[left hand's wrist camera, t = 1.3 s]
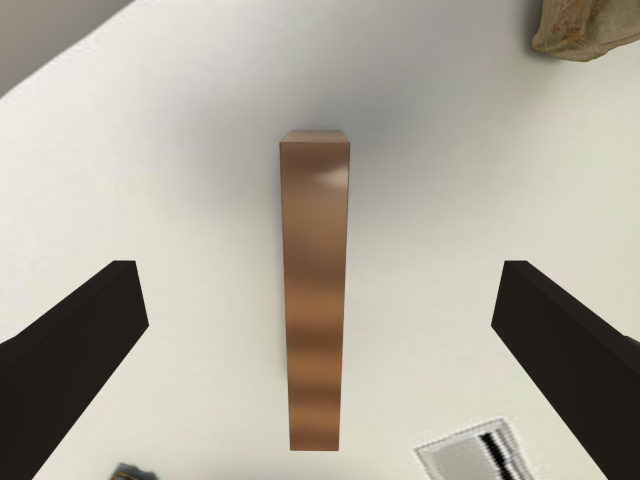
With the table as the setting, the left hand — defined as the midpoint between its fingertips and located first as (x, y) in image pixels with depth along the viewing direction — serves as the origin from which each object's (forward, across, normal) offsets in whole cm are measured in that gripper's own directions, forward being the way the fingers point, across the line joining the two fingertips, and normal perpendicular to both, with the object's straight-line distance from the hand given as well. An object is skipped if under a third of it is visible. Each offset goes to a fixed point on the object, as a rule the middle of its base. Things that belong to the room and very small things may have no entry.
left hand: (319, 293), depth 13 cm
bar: (+21, 0, -10) cm, 23 cm away
